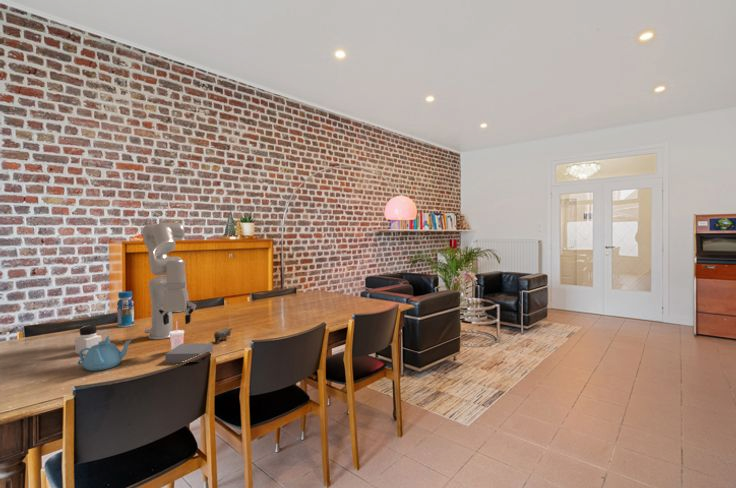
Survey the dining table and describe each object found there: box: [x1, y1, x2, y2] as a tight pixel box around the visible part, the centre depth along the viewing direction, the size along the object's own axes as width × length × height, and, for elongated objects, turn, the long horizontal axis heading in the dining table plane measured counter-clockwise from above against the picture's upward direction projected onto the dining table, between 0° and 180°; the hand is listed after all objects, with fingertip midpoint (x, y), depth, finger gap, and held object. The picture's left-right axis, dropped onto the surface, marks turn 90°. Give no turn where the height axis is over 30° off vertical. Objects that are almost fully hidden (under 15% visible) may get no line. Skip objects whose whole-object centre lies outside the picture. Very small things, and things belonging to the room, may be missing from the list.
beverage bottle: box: [116, 290, 135, 328], centre depth 215 cm, size 8×8×20 cm
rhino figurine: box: [213, 327, 233, 345], centre depth 185 cm, size 4×14×6 cm, turn 168°
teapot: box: [77, 335, 133, 372], centre depth 149 cm, size 15×15×10 cm
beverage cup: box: [169, 320, 185, 351], centre depth 168 cm, size 6×6×14 cm
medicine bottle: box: [74, 324, 103, 356], centre depth 167 cm, size 7×7×12 cm
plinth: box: [164, 342, 214, 364], centre depth 159 cm, size 14×14×4 cm
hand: (177, 323), depth 167 cm, fingers open, 9 cm apart
